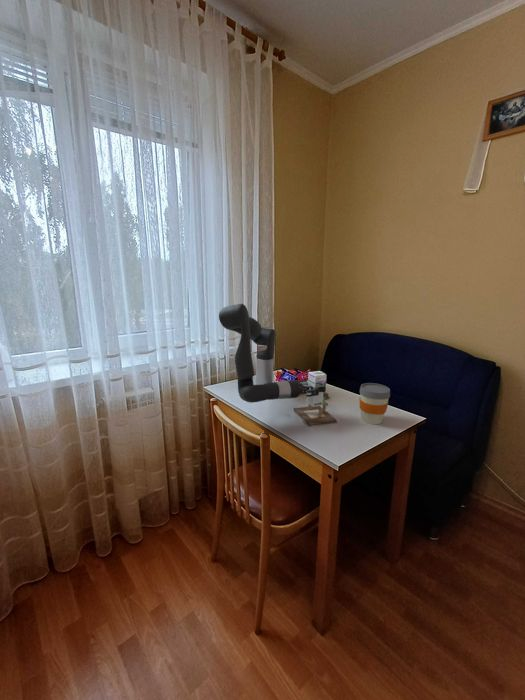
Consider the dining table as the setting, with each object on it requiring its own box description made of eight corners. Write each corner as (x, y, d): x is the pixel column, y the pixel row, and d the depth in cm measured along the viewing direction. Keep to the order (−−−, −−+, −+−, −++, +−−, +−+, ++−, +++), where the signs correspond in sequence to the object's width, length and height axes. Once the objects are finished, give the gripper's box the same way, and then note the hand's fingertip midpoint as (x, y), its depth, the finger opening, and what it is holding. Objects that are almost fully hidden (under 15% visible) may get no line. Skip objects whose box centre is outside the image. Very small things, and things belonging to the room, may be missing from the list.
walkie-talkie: (300, 393, 169) (325, 407, 153) (300, 385, 168) (326, 399, 152) (313, 390, 174) (339, 404, 157) (313, 383, 173) (340, 395, 156)
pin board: (293, 410, 147) (294, 399, 146) (318, 407, 152) (319, 396, 150) (309, 426, 133) (310, 414, 131) (336, 422, 137) (337, 410, 136)
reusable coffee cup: (350, 416, 143) (354, 385, 139) (369, 411, 149) (373, 381, 145) (372, 428, 132) (377, 395, 129) (392, 422, 139) (397, 390, 135)
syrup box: (313, 407, 137) (315, 375, 133) (306, 402, 142) (308, 371, 138) (324, 405, 139) (327, 374, 136) (316, 400, 144) (319, 370, 141)
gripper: (294, 387, 126) (330, 383, 132) (280, 375, 140) (314, 373, 145) (293, 404, 128) (329, 400, 134) (279, 391, 141) (313, 388, 147)
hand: (321, 386), depth 139 cm, fingers closed on syrup box, 6 cm apart
